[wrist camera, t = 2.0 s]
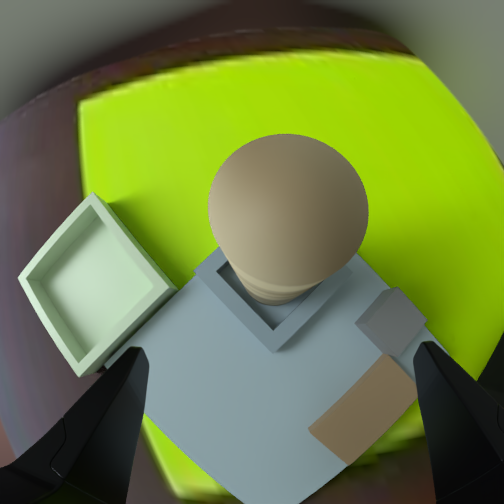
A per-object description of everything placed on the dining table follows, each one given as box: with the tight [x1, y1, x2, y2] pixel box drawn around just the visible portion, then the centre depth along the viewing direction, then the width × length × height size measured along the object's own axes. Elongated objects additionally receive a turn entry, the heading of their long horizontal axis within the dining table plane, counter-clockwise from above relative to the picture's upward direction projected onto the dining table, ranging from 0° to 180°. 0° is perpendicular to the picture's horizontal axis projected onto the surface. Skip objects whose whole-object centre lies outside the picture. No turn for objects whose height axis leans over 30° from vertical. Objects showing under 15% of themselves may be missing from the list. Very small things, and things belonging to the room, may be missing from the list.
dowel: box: [208, 134, 368, 306], centre depth 14 cm, size 4×4×13 cm
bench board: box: [104, 246, 450, 504], centre depth 18 cm, size 18×17×4 cm
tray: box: [18, 192, 179, 377], centre depth 21 cm, size 9×9×2 cm
